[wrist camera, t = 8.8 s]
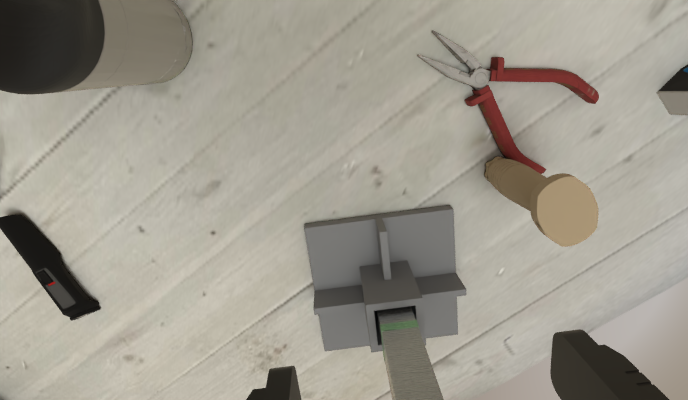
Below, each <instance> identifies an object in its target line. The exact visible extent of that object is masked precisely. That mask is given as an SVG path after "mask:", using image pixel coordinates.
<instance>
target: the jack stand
mask: <svg viewBox="0 0 688 400" xmlns="http://www.w3.org/2000/svg"><path fill="white" fill-rule="evenodd" d="M304 230H305V236H306V242H307V248H308V254H309V260H310V266H311V272H312V278H313V284H314V290H315V294H314V314H315V315H316V314H319V319H320V325H321V331H322V337H323V343H324V349H325V351H332V350H339V349H347V348H355V347H363V346H370V347H371V352H378V351H383V348H382V343H381V338H380V333H379V326H378V317H377V310H384V309H392V308H400V307H408V306H411V308H412V310H413V313H414V316H415V319H416V320H417V323H418V326H419V330H420V333H421V336H422V339H423V342H424V345H426V338H433V337H440V336H448V335H456V334H458V322H457V296H464V295H466V288H465V287H464V285H463V283H462V282H461V280H460V279H459V277H458V275H457V274H456V267H455V240H454V212H453V208H452V207H451V206H450V205H446V206H438V207H430V208H423V209H415V210H407V211H400V212H392V213H384V214H376V215H369V216H361V217H353V218H345V219H338V220H330V221H322V222H314V223H307V224H305V226H304Z"/></svg>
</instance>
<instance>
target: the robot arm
mask: <svg viewBox="0 0 688 400" xmlns="http://www.w3.org/2000/svg"><path fill="white" fill-rule="evenodd" d="M191 52H192V36H191V30H190V27H189V24H188V22H187V20H186V18H185V16H184V14H183V13H182V11H181V10H180V9H179V8H178V6H177V5H176V4H175V3H174V2H173V1H171V0H0V90H2V91H6V92H10V93H17V94H44V93H54V92H65V91H77V90H85V89H97V88H108V87H119V86H130V85H144V84H154V83H162V82H166V81H168V80H171V79H173V78H174V77H176V76H177V75H179V74H180V73H181V72H182V70H183V69H184V68H185V67H186V65H187V63H188V61H189V59H190V55H191ZM551 379H552V383H553V386H554V388H555V391H556V392H557V394H558V396H559V397H560V398H561V400H669V399H668V398H667V397H666V396H665V395H664V394H663V393H662V392H661V391H660V390H659V389H658V388H657V387H656V386H655V385H652V384H651V382H650V380H648V379H647V378H646V377H645V376H644V375H643V374H642V373H639V370H638V369H637V368H636V367H635V366H634V365H633V364H632V363H631V362H630V361H629V360H628V359H627V358H626V357H624V356H623V355H622V354H620V353H618V352H616V351H615V350H613V349H611V348H610V347H608V346H606V345H598V344H597V343H596V342H595V341H594V340H593V339H592V338H591V337H590V336H589V335H588V334H587V333H586V332H585V331H583V330H572V331H564V332H557V333H555V334H554V336H553V343H552V358H551ZM246 400H301V395H300V390H299V385H298V380H297V375H296V370H295V367H294V366H288V367H280V368H273V369H270V370H269V374H268V379H267V385H266V388H262V389H254V390H253V391H252V392H251V393H250V395H249V396H248V398H247V399H246Z"/></svg>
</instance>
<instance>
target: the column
mask: <svg viewBox="0 0 688 400" xmlns="http://www.w3.org/2000/svg"><path fill="white" fill-rule="evenodd" d="M377 317H378V326H379V333H380V338H381V343H382V348H383V356H384V361H385V364H386V369H387V374H388V379H389V384H390V389H391V394H392V399H393V400H444V399H443V396H442V393H441V391H440V388H439V385H438V382H437V379H436V376H435V373H434V371H433V368H432V365H431V362H430V359H429V356H428V353H427V350H426V348H425V345H424V342H423V339H422V336H421V333H420V330H419V326H418V323H417V320H416V319H415V316H414V313H413V310H412V308H411V306H408V307H400V308H392V309H384V310H377Z"/></svg>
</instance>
